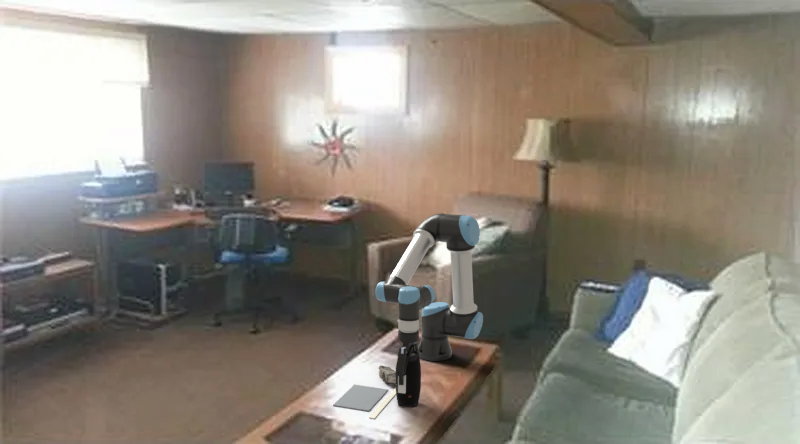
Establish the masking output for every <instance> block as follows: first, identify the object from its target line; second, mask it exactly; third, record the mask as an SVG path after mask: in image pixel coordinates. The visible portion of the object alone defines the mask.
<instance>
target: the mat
mask: <svg viewBox="0 0 800 444" xmlns="http://www.w3.org/2000/svg"><path fill="white" fill-rule="evenodd" d="M388 391H389V389H388V388H382V387H381V388H379V387H375V386H367V385H362V384H361V385H360V384H353V385H352V386H351V387H350V388H349V389H348V390H347V391H345V393H344V394H343V395H341V397H339V399H338V400H336V402H335V403H333V405H332V406H333V407H338V408H344V409H351V410H357V411H362V412H363V411H364V412H370V411H371V410H372V409H373V408H374V407H375V406H376V404H378V402H379V401H380V400H381V399H382V398H383V396H385V394H387V392H388Z"/></svg>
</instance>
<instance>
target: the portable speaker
mask: <svg viewBox="0 0 800 444" xmlns="http://www.w3.org/2000/svg"><path fill="white" fill-rule="evenodd" d="M398 357H399V351H397V360H396V365H395V371H396V370H397V363H398ZM400 373H401V372H400ZM405 375H406V393H405V394H404V393H398V376H396V384H395V388H396V395H395V396H396V400H397V402H396V403H397V406H399V407H401V408H405V407H408V406H412V408H415V407H418V405H419V401H420V395H421V388H422V385H421V384H422V366H421V358H419V352H417V351H415V352H412V354H411V356H410V358H409V359H408V364H407V368H406V373H405Z"/></svg>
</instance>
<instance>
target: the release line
mask: <svg viewBox="0 0 800 444" xmlns="http://www.w3.org/2000/svg"><path fill="white" fill-rule="evenodd" d="M396 396H397V395H396V387H394V388H393V390H392V391H391V392H390V393H389V394H388V395H387V397H385V399H384V400H383V401H382V402H381V403H380V405H378V407H376V409H375V410H374V411H373V412H372V413H371V415H370V416H369V417H368V419H371V420H372V419H373V420H375V419H376V417H378V415H379V414H380V413H381V412H382V411H383V410H384V409H385V407H387V405H388V404H389V403H390V402H391V401H392V400H393V398H394V397H396Z"/></svg>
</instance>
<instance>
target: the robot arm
mask: <svg viewBox="0 0 800 444" xmlns="http://www.w3.org/2000/svg"><path fill="white" fill-rule="evenodd" d="M480 231H481V229H480V225H479V222H478V220H477V219H476V218H475V217H474V216H472V215H471V216H469V215H466V214H449V213H442V212H441V213H435V214H433V215H430V216H428V217H427V218H425V219H424V220H423V221H422V222H420V223H419V224H418V226H417V227H416V228H415V229H414V231H413V233H412V240H410V243H409V245H408V246H407V248H406V249H405V251H404V253H403V254H402V256H401V258H400V259H399V261H398V263H397V264H396V266H395V268H394V269H393V270H392V273H391V274H390V276H389V278H388V279H387V280H386V281H380V282H378V283H377V285H376V287H375V297H376V300H378V301H380V302H383V303H390V304H396V305H398V319H397V320H396V321H397V323H398V324H397V325H398V326H397V327H398V330H397V331H398V332H397V335H398V336H397V339H398V341H399V342H401V343H402V345H401V347H399V348H398V352H399V357H398V356H397V359H398V363H397V362H396V364H397V370H396V369H395V371H396V374H395V375H396V376H398V393H404V394H405V393H406V375H405V373H406V368H407V364H408V359H409V358H410V356H411V354H412V352H415V351H417V352H419V358H420V359H422V360H424V361H425V360H426V361H430V362H439V361H446V360H449V359H450V358H452V356H453V349H452V346H451V344H450V340H449V336H451V337H458V338H463V339H468V340H473V339H476V338H477V337H478V336H479V335H480V332H481V330H482V328H483V322H484V315H483V313H482V312H480V311H478V305H477V304H476V303H474V302H475V301H474V284H473V282H474V281H473V262H472V261H473V259H472V258H473V257H472V255H473V254H472V252H473V250H474V249H475V248H476V245H477V244H478V243H479V240H480V235H481V232H480ZM437 242H440V243H445V244H446V249H447V250H448V251H449V252H450V264H451V265H450V268H451V285H452V286H451V287H452V304H451V305H450V304H449V303H448V302H445V301H443V302H442V301H436V302H434V301H435V299H436V292H435V290H434V288H433V287H432V286H430V285H429V284H424V285H420V286H417V285H416V286H415V285H409V283H410V281H411V280H412V279H413V277H414V274H415V273H416V271H417V269H418V268H419V266H420V264H421V262H422V260H423V259H424V257H425V255H426V254H427V252H428V251H429V249H430V248H431V247H433V246H435V244H436V243H437ZM420 310H421V315H420ZM420 316H421V338H420V331H419V330H420ZM419 340H420V341H419ZM418 342H419V344H418ZM400 372H401V373H400Z"/></svg>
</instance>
